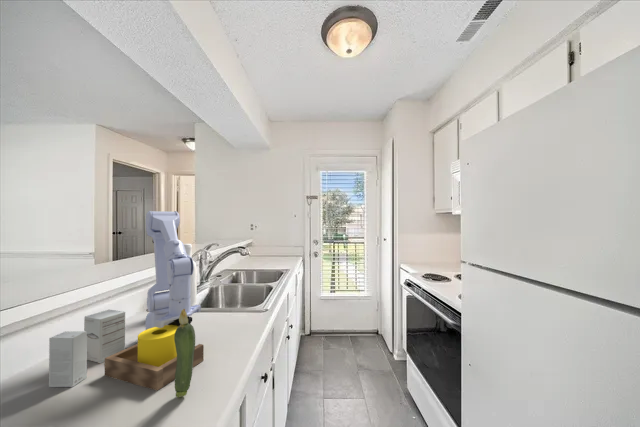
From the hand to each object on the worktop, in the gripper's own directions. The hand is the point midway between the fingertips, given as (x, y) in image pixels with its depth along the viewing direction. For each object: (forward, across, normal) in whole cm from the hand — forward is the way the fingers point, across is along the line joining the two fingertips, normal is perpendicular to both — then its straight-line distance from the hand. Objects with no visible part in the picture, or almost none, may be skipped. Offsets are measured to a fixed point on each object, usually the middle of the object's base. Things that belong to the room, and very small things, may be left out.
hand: (180, 342), depth 81 cm
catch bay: (+3, -7, 0) cm, 8 cm away
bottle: (+4, +32, +31) cm, 45 cm away
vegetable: (+4, -14, -17) cm, 22 cm away
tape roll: (+4, -7, 0) cm, 8 cm away
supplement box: (+4, -8, +21) cm, 23 cm away
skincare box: (+4, -20, +15) cm, 25 cm away
